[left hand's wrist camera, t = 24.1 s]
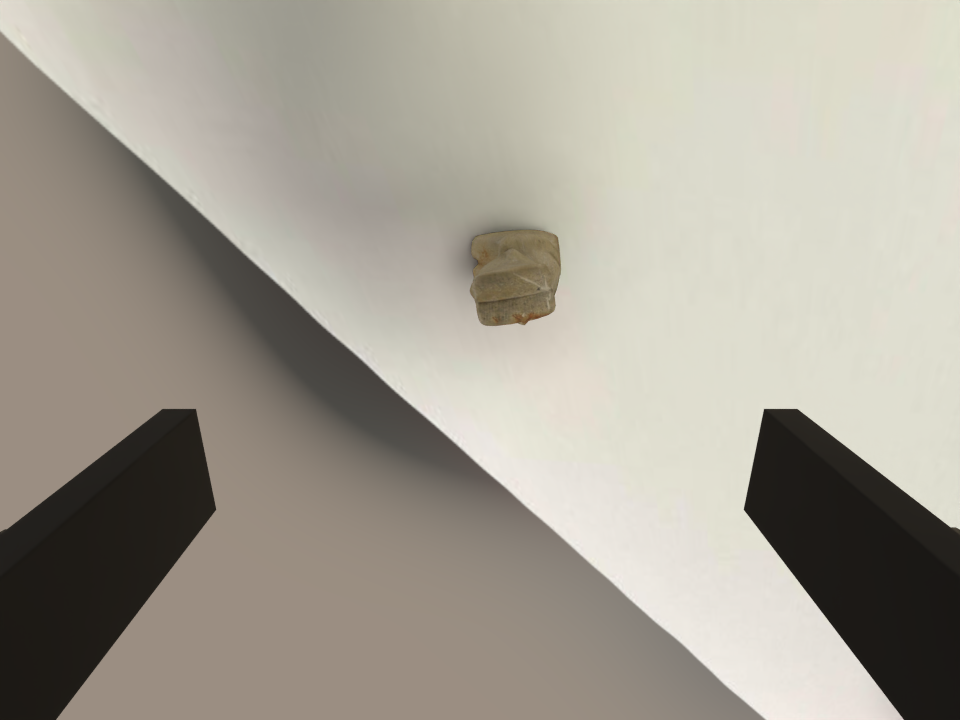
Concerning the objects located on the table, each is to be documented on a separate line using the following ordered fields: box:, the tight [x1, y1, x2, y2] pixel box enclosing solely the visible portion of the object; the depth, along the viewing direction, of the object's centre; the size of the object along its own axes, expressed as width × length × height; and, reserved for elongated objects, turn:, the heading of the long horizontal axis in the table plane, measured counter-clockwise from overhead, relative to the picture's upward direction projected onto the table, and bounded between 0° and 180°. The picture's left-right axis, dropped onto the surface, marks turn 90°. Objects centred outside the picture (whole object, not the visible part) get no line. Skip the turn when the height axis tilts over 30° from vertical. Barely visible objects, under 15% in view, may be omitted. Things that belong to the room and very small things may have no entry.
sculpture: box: [470, 230, 561, 326], centre depth 39 cm, size 6×7×15 cm
